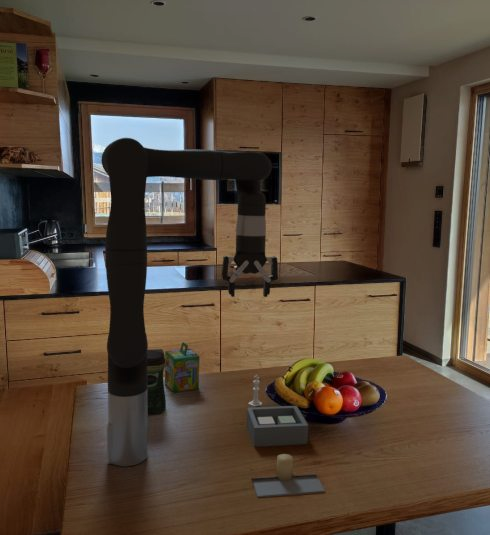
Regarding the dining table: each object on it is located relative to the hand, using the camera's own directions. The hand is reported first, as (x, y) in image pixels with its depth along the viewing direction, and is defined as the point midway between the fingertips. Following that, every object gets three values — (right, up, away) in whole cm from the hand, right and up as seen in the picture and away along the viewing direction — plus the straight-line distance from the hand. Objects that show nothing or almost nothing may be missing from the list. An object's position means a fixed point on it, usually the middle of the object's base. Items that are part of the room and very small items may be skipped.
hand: (249, 296), depth 127 cm
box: (+7, -38, +5) cm, 39 cm away
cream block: (+4, -37, +4) cm, 38 cm away
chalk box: (-22, -33, +38) cm, 55 cm away
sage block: (+10, -37, +5) cm, 39 cm away
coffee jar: (-29, -35, +19) cm, 50 cm away
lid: (+8, -41, -14) cm, 44 cm away
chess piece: (+2, -35, +24) cm, 43 cm away
